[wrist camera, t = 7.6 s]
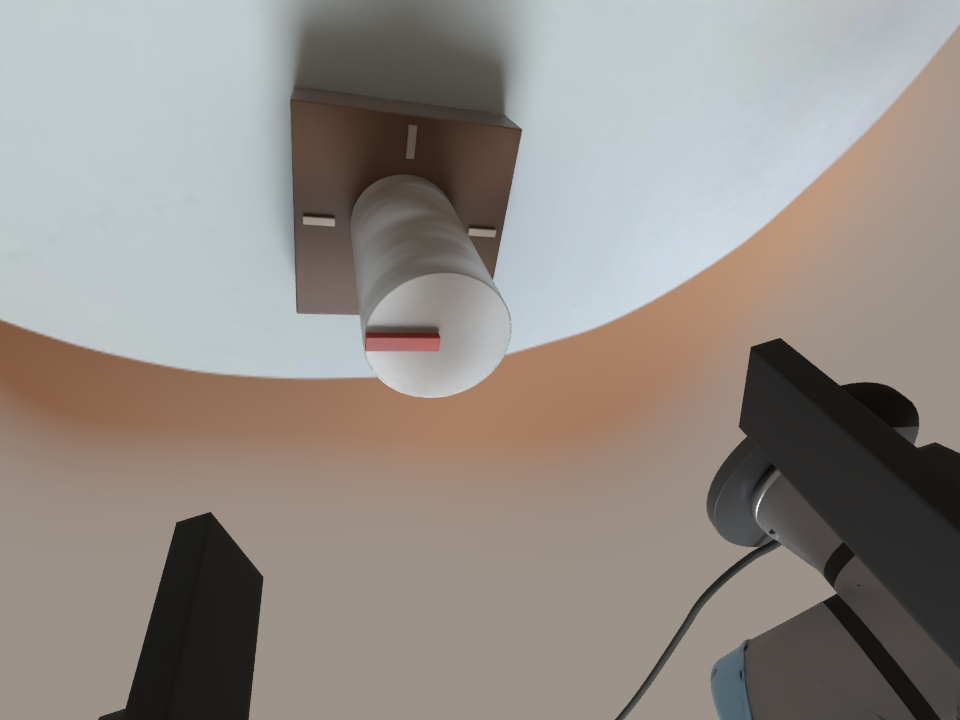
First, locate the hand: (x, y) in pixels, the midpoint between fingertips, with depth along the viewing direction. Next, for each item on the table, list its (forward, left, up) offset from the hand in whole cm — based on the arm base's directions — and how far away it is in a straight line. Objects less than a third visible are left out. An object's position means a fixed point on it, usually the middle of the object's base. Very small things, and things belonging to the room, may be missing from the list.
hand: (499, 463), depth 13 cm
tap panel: (0, 0, -19) cm, 19 cm away
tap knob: (0, 0, -16) cm, 16 cm away
